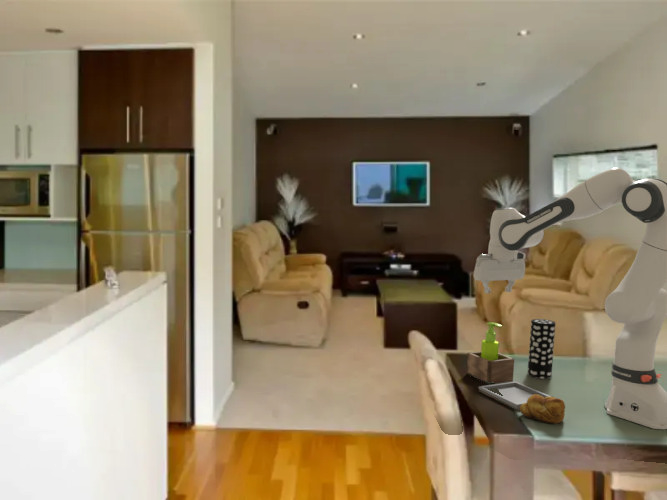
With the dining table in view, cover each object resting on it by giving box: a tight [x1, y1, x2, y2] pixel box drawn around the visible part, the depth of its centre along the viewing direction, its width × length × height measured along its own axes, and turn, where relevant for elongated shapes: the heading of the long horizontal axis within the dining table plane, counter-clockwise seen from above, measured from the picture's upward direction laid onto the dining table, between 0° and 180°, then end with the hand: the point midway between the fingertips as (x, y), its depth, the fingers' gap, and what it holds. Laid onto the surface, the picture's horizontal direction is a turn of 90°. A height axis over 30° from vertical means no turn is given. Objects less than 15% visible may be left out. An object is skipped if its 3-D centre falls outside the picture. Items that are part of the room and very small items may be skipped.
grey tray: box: [478, 381, 552, 411], centre depth 201 cm, size 18×16×2 cm
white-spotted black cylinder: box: [527, 318, 556, 380], centre depth 225 cm, size 8×8×20 cm
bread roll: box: [519, 394, 566, 425], centre depth 183 cm, size 13×10×8 cm
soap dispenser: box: [481, 321, 503, 361], centre depth 220 cm, size 6×7×20 cm
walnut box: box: [466, 350, 515, 384], centre depth 221 cm, size 12×11×8 cm
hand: (497, 292), depth 218 cm, fingers open, 8 cm apart
